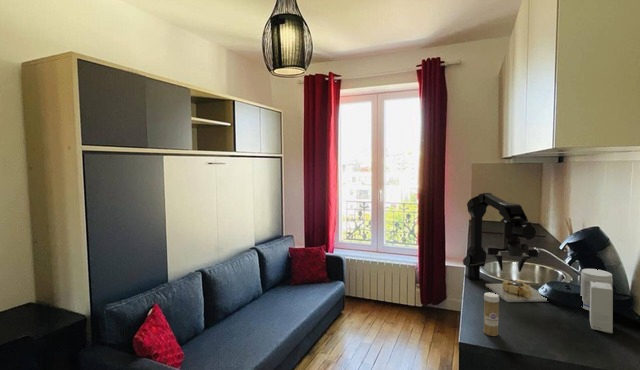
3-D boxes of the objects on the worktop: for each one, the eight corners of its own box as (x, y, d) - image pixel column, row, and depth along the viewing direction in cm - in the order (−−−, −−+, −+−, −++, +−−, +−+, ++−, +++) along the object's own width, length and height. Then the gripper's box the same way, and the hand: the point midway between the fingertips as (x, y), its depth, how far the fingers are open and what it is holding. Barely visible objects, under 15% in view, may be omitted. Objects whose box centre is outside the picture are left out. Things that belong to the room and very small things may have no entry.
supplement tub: (583, 302, 139) (585, 266, 138) (614, 309, 132) (615, 272, 131) (576, 308, 133) (578, 271, 132) (608, 316, 126) (609, 277, 125)
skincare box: (612, 334, 113) (614, 290, 112) (589, 329, 117) (591, 286, 116) (610, 324, 120) (611, 283, 119) (588, 319, 124) (590, 279, 123)
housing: (485, 286, 158) (485, 276, 158) (523, 285, 158) (524, 276, 158) (507, 302, 140) (507, 291, 140) (550, 301, 140) (551, 290, 140)
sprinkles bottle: (488, 337, 112) (489, 297, 111) (480, 330, 117) (481, 292, 116) (501, 336, 113) (502, 296, 112) (493, 329, 117) (494, 291, 116)
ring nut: (498, 286, 154) (498, 279, 154) (520, 285, 154) (520, 279, 154) (517, 298, 140) (517, 291, 140) (541, 297, 140) (541, 290, 140)
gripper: (491, 237, 136) (490, 275, 137) (544, 239, 131) (543, 279, 132) (485, 232, 146) (484, 267, 147) (533, 233, 142) (532, 270, 143)
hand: (510, 271), depth 142 cm, fingers open, 6 cm apart
